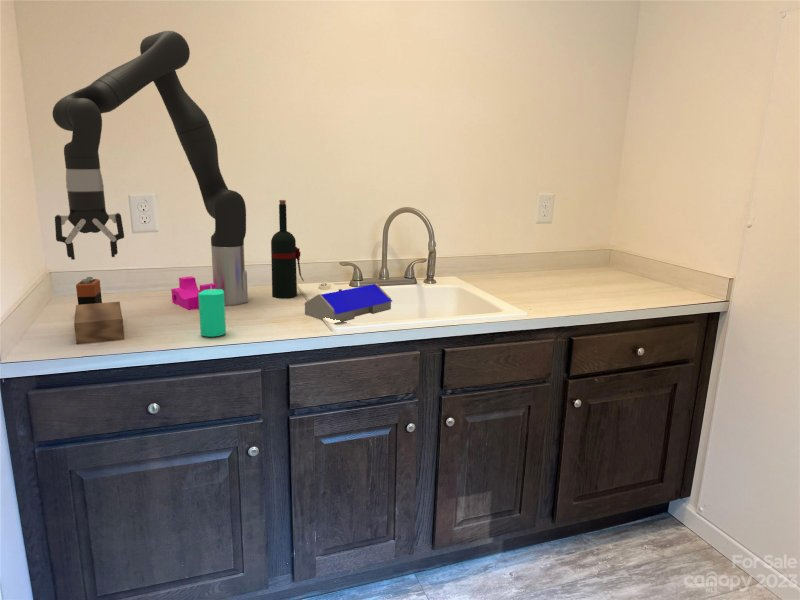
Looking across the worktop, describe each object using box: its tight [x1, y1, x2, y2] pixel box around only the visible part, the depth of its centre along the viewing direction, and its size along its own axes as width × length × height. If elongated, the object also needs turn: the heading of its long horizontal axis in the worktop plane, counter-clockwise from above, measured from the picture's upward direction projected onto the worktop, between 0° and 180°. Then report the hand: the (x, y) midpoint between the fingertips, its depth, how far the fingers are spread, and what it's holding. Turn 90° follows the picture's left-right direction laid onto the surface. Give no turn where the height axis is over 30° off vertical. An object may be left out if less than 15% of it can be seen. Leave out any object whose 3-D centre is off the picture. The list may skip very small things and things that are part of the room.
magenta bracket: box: [170, 276, 216, 311], centre depth 168 cm, size 15×6×8 cm, turn 45°
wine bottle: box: [270, 199, 305, 300], centre depth 180 cm, size 8×10×30 cm
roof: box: [303, 282, 393, 323], centre depth 166 cm, size 22×14×7 cm, turn 137°
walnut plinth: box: [73, 301, 125, 345], centre depth 143 cm, size 10×18×5 cm, turn 27°
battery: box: [75, 276, 103, 305], centre depth 157 cm, size 4×7×10 cm, turn 13°
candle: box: [198, 289, 227, 337], centre depth 143 cm, size 6×6×12 cm
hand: (93, 257), depth 139 cm, fingers open, 8 cm apart
